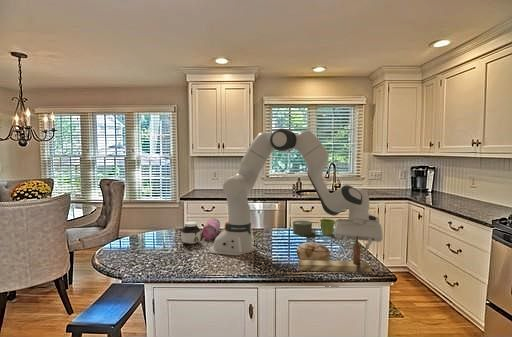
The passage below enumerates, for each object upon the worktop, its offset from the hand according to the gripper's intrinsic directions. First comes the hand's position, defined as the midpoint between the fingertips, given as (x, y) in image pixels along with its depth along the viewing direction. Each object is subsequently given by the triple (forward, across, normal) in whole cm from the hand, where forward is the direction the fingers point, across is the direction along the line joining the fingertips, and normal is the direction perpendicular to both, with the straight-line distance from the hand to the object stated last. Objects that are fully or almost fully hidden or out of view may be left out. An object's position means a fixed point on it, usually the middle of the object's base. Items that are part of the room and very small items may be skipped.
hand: (357, 247), depth 136 cm
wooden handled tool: (+5, 0, +6) cm, 7 cm away
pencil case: (-14, -87, +29) cm, 92 cm away
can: (-32, -36, +46) cm, 66 cm away
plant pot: (-33, -20, +48) cm, 62 cm away
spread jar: (-2, -90, +16) cm, 91 cm away
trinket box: (+2, -20, +12) cm, 23 cm away
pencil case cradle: (-16, -86, +30) cm, 92 cm away
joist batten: (+8, -10, +5) cm, 14 cm away
